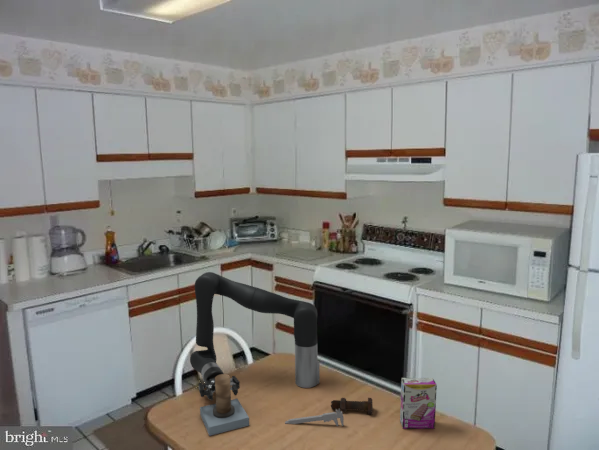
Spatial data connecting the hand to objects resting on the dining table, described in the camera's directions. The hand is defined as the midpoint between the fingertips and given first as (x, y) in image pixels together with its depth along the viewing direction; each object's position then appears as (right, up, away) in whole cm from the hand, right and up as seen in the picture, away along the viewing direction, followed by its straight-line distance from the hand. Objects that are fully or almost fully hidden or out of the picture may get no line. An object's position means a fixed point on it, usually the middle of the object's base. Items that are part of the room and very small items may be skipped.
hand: (224, 395), depth 157 cm
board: (0, -10, +3) cm, 10 cm away
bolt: (+45, -9, +8) cm, 47 cm away
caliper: (+31, -10, -1) cm, 33 cm away
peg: (0, -10, +3) cm, 10 cm away
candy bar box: (+67, -10, -2) cm, 68 cm away
